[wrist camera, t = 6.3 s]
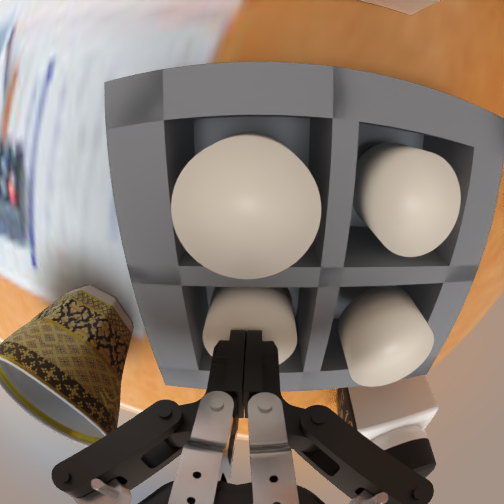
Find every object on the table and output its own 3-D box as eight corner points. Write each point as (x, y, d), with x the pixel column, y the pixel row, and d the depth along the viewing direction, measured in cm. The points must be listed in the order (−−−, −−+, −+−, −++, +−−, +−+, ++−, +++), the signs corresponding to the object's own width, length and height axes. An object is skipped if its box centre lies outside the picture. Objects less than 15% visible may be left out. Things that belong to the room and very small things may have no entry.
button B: (421, 284, 13) (447, 318, 10) (398, 344, 15) (414, 379, 12) (346, 286, 13) (363, 327, 10) (331, 350, 15) (340, 391, 12)
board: (452, 112, 12) (506, 120, 7) (404, 329, 20) (426, 374, 15) (150, 89, 12) (104, 82, 8) (181, 333, 20) (165, 384, 16)
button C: (308, 134, 10) (325, 139, 7) (302, 241, 12) (313, 279, 9) (189, 135, 10) (164, 141, 7) (197, 241, 12) (180, 277, 9)
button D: (295, 270, 14) (301, 305, 12) (289, 333, 17) (292, 370, 14) (207, 269, 15) (197, 304, 12) (214, 332, 17) (208, 369, 14)
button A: (432, 149, 11) (467, 161, 8) (419, 231, 13) (447, 257, 10) (353, 136, 11) (378, 143, 9) (344, 228, 13) (363, 256, 11)
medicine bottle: (339, 363, 21) (366, 491, 11) (412, 346, 21) (459, 457, 10) (335, 403, 25) (351, 505, 14) (397, 389, 24) (426, 482, 13)
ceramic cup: (54, 245, 17) (-29, 326, 8) (166, 301, 19) (117, 423, 10) (56, 343, 22) (15, 413, 14) (137, 385, 24) (110, 466, 15)
